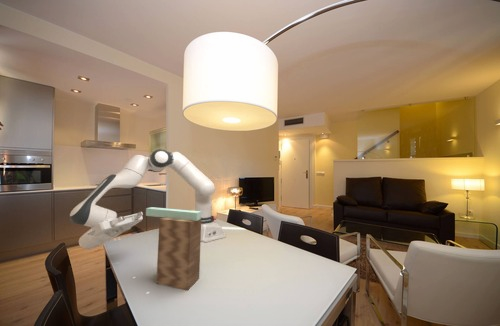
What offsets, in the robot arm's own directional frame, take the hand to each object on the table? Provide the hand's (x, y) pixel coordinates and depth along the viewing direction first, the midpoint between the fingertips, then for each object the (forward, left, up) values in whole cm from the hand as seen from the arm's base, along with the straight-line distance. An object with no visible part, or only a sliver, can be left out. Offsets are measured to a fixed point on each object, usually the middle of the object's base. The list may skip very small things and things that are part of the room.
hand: (132, 215), depth 82 cm
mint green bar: (-14, +14, +1) cm, 20 cm away
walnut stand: (-17, +17, -24) cm, 34 cm away
